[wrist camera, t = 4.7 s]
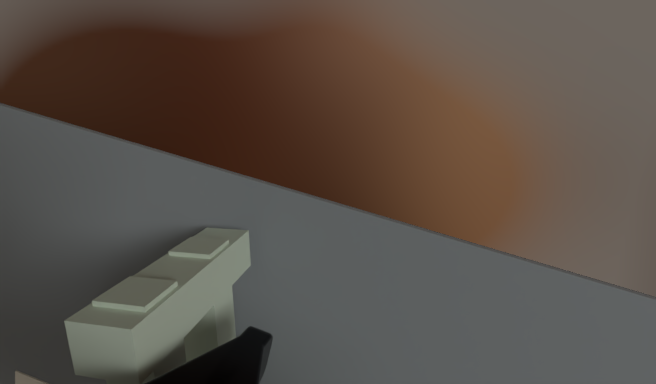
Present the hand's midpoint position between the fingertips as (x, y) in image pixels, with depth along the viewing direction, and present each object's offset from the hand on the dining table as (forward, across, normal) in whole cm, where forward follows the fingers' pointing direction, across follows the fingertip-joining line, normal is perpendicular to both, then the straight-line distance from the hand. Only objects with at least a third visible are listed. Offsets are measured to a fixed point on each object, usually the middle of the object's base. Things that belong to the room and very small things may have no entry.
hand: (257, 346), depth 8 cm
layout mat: (+3, +2, +6) cm, 7 cm away
